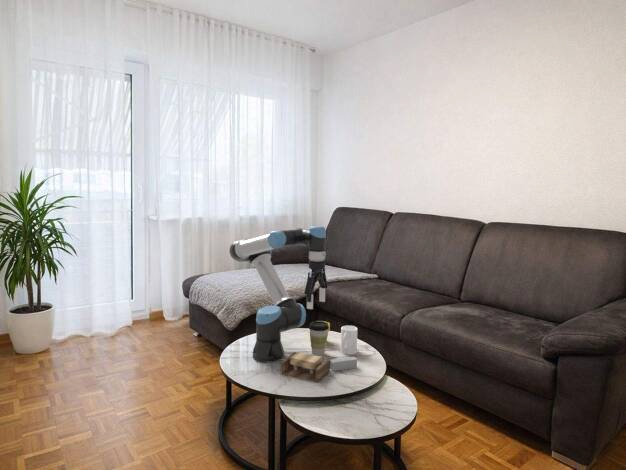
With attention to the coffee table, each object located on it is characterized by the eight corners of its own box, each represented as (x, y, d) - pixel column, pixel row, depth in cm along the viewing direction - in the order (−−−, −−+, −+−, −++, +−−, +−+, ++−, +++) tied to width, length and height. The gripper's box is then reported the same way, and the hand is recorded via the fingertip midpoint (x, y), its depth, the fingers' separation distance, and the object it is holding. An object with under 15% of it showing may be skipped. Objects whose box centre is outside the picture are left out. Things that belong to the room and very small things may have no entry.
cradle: (281, 373, 185) (281, 361, 184) (294, 363, 195) (294, 352, 195) (318, 382, 177) (319, 369, 176) (330, 371, 188) (330, 359, 187)
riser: (332, 371, 188) (332, 362, 188) (329, 368, 191) (329, 359, 190) (356, 367, 192) (357, 359, 192) (353, 365, 195) (354, 356, 194)
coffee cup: (314, 358, 201) (314, 328, 199) (304, 351, 210) (305, 322, 208) (332, 355, 206) (332, 325, 204) (322, 348, 214) (322, 319, 213)
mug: (349, 358, 202) (349, 334, 201) (333, 354, 207) (334, 330, 206) (360, 350, 212) (360, 327, 211) (345, 346, 217) (345, 324, 216)
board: (290, 364, 185) (290, 357, 185) (297, 358, 191) (297, 352, 191) (314, 369, 180) (315, 362, 180) (321, 363, 186) (321, 357, 186)
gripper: (312, 265, 181) (311, 313, 184) (334, 256, 204) (333, 299, 206) (297, 263, 184) (296, 310, 187) (320, 255, 207) (319, 297, 209)
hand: (316, 305), depth 197 cm, fingers open, 13 cm apart
